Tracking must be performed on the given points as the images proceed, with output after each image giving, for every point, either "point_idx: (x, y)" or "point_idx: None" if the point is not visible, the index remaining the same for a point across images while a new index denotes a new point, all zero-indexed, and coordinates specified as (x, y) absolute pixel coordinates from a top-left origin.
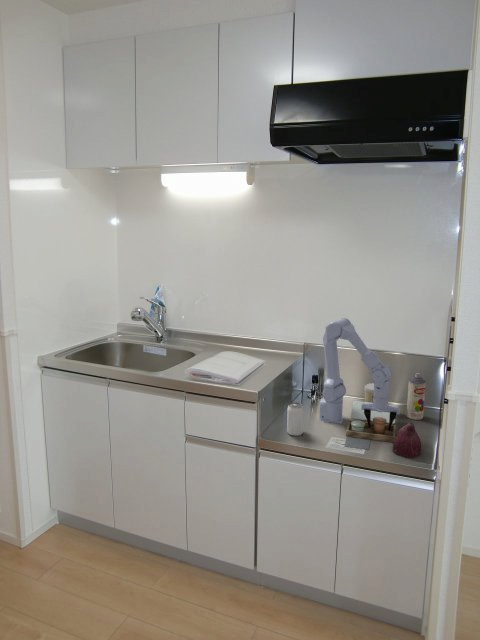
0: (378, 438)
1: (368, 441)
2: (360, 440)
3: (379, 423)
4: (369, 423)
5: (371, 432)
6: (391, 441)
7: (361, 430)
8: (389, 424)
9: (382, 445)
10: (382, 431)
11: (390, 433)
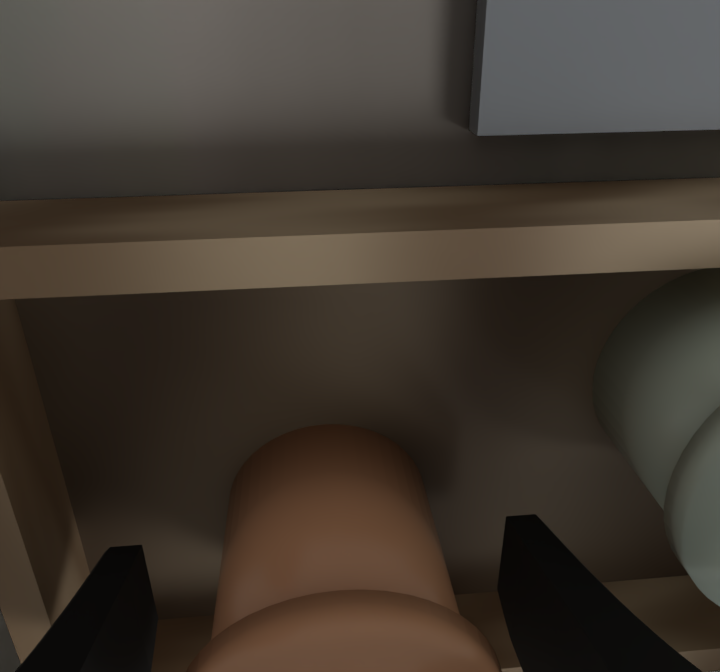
0: (305, 208)
1: (518, 42)
2: (697, 36)
3: (333, 609)
4: (567, 586)
5: (455, 460)
6: (13, 209)
7: (708, 344)
8: (75, 660)
9: (188, 10)
10: (257, 491)
11: (129, 530)
